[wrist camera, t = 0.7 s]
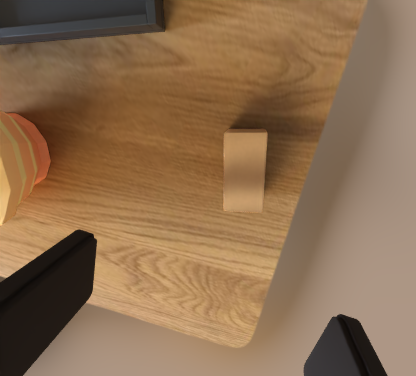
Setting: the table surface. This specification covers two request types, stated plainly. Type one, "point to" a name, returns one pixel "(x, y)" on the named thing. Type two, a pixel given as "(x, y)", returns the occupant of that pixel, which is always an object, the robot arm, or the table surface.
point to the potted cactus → (19, 161)
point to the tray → (77, 19)
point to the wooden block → (244, 169)
